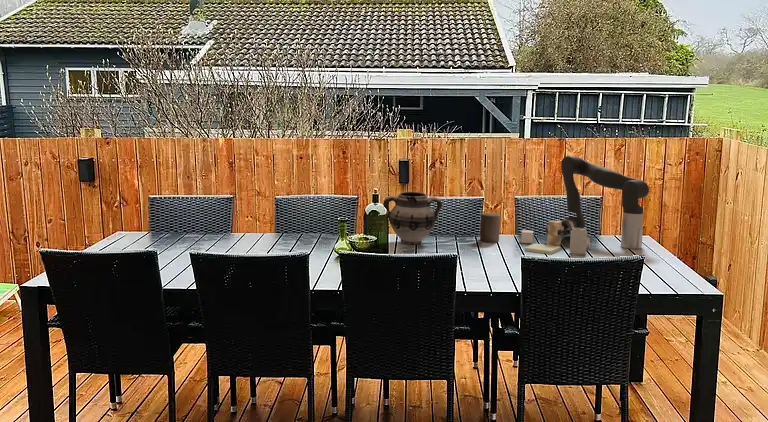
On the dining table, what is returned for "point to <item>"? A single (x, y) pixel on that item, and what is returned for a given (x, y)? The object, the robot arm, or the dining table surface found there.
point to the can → (578, 241)
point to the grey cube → (527, 236)
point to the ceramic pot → (412, 216)
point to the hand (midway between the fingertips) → (552, 232)
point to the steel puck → (588, 243)
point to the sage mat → (542, 248)
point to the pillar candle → (490, 227)
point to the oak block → (554, 233)
